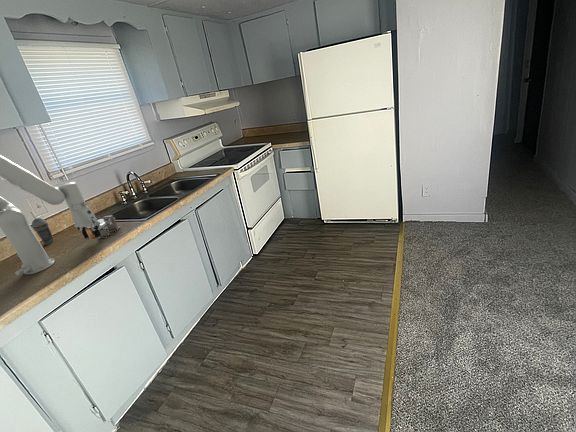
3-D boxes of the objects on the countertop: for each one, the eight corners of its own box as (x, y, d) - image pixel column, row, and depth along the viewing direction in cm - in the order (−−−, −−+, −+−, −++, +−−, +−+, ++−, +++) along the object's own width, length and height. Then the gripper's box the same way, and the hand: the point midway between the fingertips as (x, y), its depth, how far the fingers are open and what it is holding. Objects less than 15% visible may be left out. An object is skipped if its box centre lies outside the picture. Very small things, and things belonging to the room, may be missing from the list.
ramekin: (88, 236, 175) (84, 228, 173) (92, 229, 185) (89, 221, 183) (108, 231, 177) (105, 223, 175) (112, 224, 187) (109, 216, 185)
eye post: (115, 231, 174) (108, 217, 170) (107, 232, 175) (100, 218, 172) (120, 227, 178) (114, 214, 175) (112, 228, 180) (106, 214, 176)
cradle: (105, 238, 167) (102, 230, 166) (98, 239, 168) (94, 231, 167) (110, 234, 171) (107, 227, 169) (103, 235, 172) (99, 228, 170)
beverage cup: (49, 245, 173) (31, 213, 165) (39, 246, 175) (21, 215, 167) (60, 239, 179) (43, 208, 171) (50, 239, 181) (33, 209, 173)
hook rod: (94, 239, 161) (89, 229, 158) (88, 239, 162) (83, 230, 159) (118, 222, 179) (114, 213, 176) (113, 223, 179) (109, 213, 177)
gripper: (97, 201, 157) (111, 232, 164) (70, 205, 161) (85, 234, 168) (86, 207, 150) (101, 239, 157) (58, 211, 154) (74, 241, 161)
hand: (93, 236), depth 162 cm, fingers open, 6 cm apart
